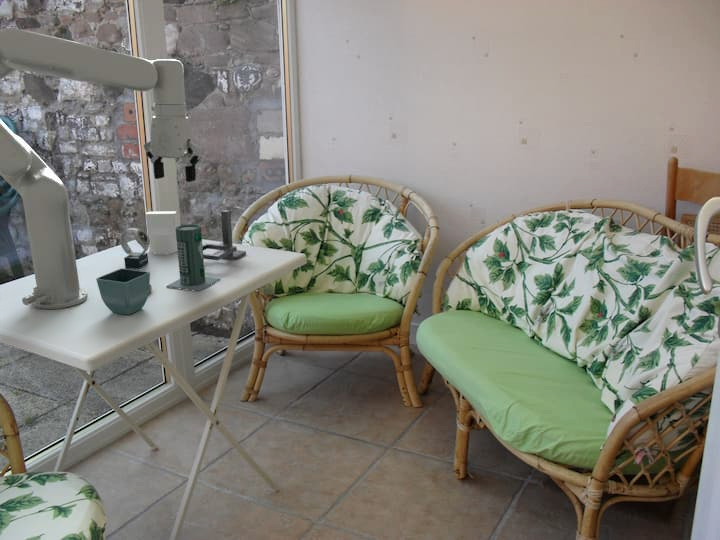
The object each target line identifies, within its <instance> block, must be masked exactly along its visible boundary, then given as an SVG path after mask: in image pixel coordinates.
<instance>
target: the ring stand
mask: <svg viewBox="0 0 720 540" xmlns="http://www.w3.org/2000/svg"><path fill="white" fill-rule="evenodd" d="M231 214H232V213H231V210H230V209H228V210H227V209H224V210H221V211H220V216H221V217H220V219H221V230H222V231H221V232H222V233H221V234H222V242H221V243H219V244H218V243H217V244H215V243H206V242H205V243H202V247H203V251H205V250H208V249H209V250H210V249H211V250H217V251H216V252H214V253H212V254H211V253H205V252H203V259H204V260H210V261H220V260H221V259H224V260H225V259H227V260H234V261H237V260H239V259H240V258H242V257H244V256H246V255H247V251H246V250H238V248H237V247H238V246H235V245H233V231H232V230H233V229H232V215H231Z"/></svg>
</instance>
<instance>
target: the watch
mask: <svg viewBox="0 0 720 540" xmlns="http://www.w3.org/2000/svg"><path fill="white" fill-rule="evenodd" d="M127 232H131V233H132V234H133V236H134V240H135V241H136V243H138V244H139V245H140V247H141V248H142V249H143V251H142V252H134V251H133V250H132V249H131V247H130V246H129V244H128V242H127V240H126V238H125V236H126V234H127ZM119 241H120V242H119V244H120V245H121V247H122V249H123V251H124V252H125V254H127V256H125V257H124V258H123V259H124V267H125V268H124V269H130V268H134V269H133V270H140V269H142V268H143V267H145V266H146V264H147V263H148V264H149V256H148V255H149V254H148V252H147V251H149V242H150V240H149V237H148V233H147V232H146V231H145V230H144V229H140V228H137V227H130V228H127V229H126V230H124V231H122V232H121V235H120V237H119ZM148 264H147V265H148Z"/></svg>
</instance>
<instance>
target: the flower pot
mask: <svg viewBox="0 0 720 540" xmlns="http://www.w3.org/2000/svg"><path fill="white" fill-rule="evenodd" d="M150 279H151V272H150V271H143V270H139V269H130V268H119V269H116V270H113V271H111V272H109V273H105V274H104V275H101V276H98V277H97V278H96V279H95V280H96V283H97V287H98V289H99V290H98V291H99V294H100V298H101V300H102V302H103V303H104V305H105V306H106V307H107V308H108V310H109V311H111V312H112V313H115V314H120V315H127V316H129V315H131V314H133V313H135V312H137V311H140V310H142V309H143V308H144V306H145V304H146V303H147V300H148V298H149V294H150V293H149V286H150V285H151V282H150Z"/></svg>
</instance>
